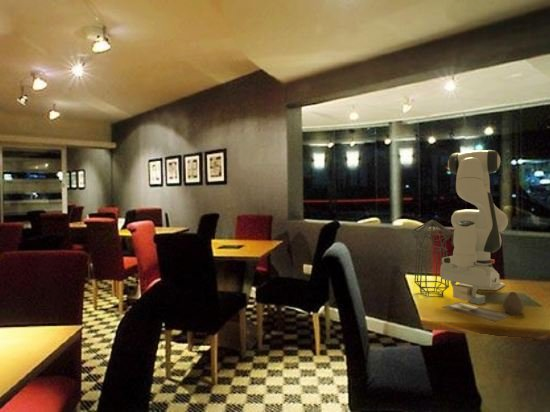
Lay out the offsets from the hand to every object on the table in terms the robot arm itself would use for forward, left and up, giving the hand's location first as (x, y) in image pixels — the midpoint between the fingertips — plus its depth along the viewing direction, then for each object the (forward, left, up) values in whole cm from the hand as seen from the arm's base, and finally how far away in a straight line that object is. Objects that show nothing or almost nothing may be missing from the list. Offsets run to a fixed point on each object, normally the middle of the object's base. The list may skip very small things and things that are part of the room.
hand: (464, 293), depth 169 cm
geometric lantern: (-10, -22, -7) cm, 25 cm away
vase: (-9, +15, -7) cm, 19 cm away
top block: (-11, -1, -7) cm, 13 cm away
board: (+1, +6, -6) cm, 9 cm away
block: (0, 0, -2) cm, 2 cm away
